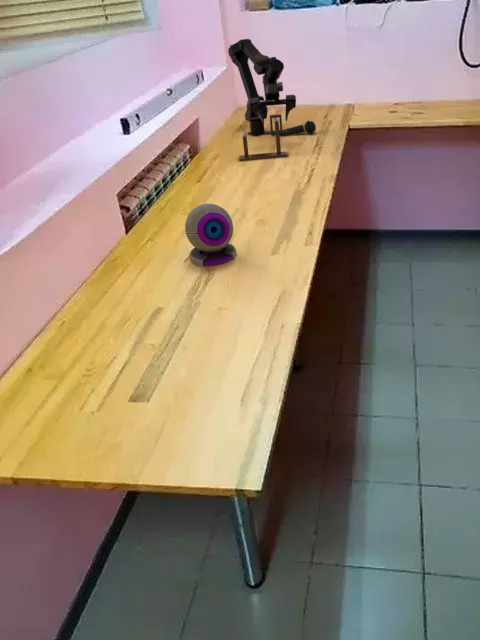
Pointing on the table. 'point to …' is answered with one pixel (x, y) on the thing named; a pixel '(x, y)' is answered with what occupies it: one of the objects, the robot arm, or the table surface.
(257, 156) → the rack
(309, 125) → the microphone
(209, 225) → the webcam
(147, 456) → the table surface
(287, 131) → the black piece
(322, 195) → the table surface
